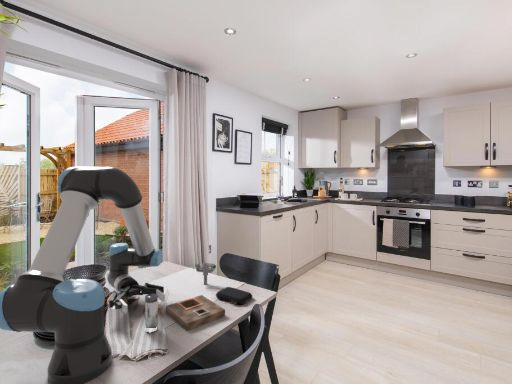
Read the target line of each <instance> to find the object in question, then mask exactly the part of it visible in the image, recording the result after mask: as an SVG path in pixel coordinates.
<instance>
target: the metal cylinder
mask: <svg viewBox="0 0 512 384" xmlns="http://www.w3.org/2000/svg"><path fill="white" fill-rule="evenodd" d="M158 299H159V298H158V295H157V294H145V296H144V302H145V303H144V304H145V305H144V308H145V309H144V311H145V313H144V314H145V317H144V319H145V322H144V323H145V326H146V328H156V327H157V326H158V327H159V312H158V311H159V305H158V303H159V301H158Z"/></svg>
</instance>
